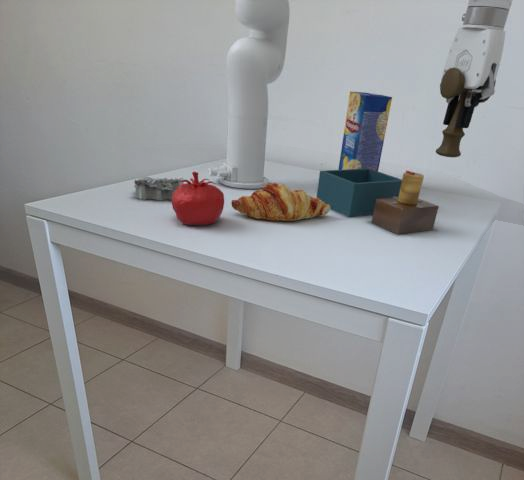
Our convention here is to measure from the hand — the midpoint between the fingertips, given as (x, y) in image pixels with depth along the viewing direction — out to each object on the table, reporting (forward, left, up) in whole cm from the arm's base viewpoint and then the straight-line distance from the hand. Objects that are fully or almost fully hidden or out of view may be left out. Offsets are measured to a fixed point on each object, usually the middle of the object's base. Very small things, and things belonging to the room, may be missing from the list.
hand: (455, 125), depth 101 cm
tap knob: (-14, -4, -14) cm, 20 cm away
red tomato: (-54, +11, -19) cm, 58 cm away
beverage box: (0, +29, -19) cm, 34 cm away
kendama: (0, 0, -6) cm, 6 cm away
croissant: (-36, +9, -19) cm, 41 cm away
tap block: (-14, -4, -19) cm, 24 cm away
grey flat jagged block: (-55, +30, -19) cm, 65 cm away
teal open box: (-14, +11, -19) cm, 26 cm away
